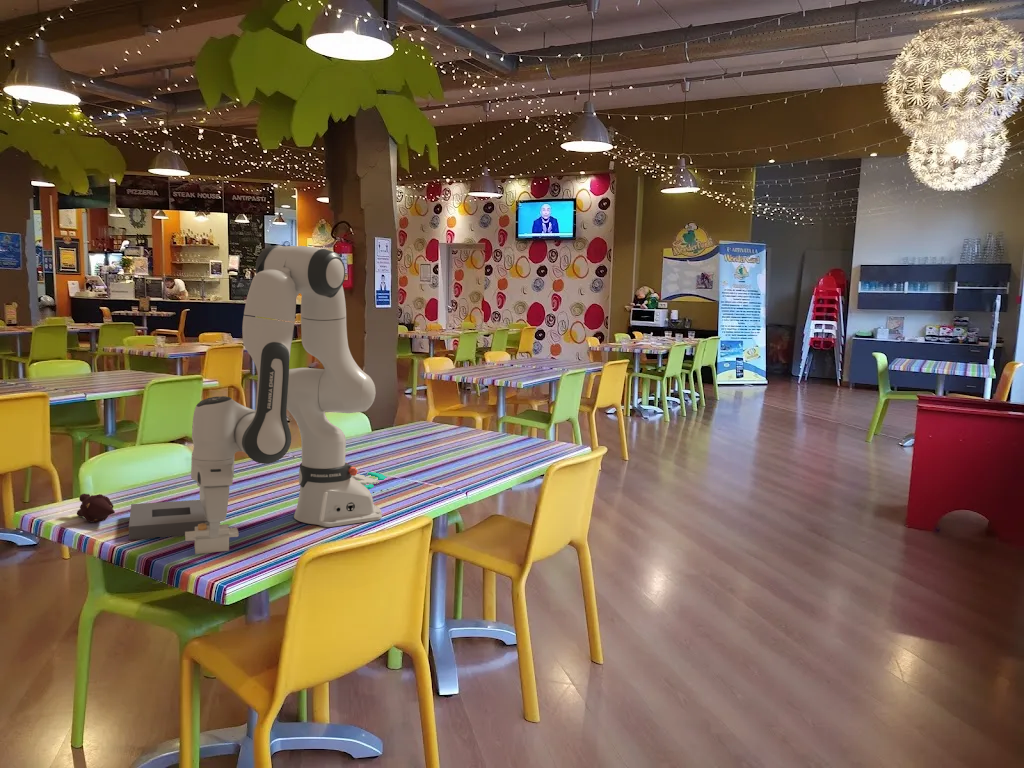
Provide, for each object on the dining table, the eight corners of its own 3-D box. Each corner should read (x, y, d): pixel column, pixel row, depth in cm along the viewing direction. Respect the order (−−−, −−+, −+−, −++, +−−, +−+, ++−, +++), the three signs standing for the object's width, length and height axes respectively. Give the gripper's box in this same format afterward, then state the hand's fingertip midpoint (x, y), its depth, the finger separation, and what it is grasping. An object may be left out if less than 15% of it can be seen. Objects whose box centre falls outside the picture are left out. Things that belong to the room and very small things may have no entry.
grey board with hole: (208, 511, 194) (208, 499, 194) (213, 533, 178) (213, 520, 178) (131, 516, 186) (131, 504, 186) (128, 540, 170) (128, 526, 170)
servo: (236, 544, 172) (236, 519, 171) (238, 550, 168) (238, 524, 168) (184, 548, 167) (184, 523, 166) (185, 555, 164) (185, 528, 163)
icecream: (131, 498, 181) (97, 491, 189) (101, 496, 174) (67, 490, 182) (126, 527, 180) (92, 519, 188) (95, 526, 174) (62, 518, 181)
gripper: (193, 460, 172) (192, 518, 174) (201, 481, 154) (200, 545, 156) (222, 459, 175) (221, 516, 176) (233, 479, 157) (232, 542, 158)
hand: (211, 530), depth 166 cm, fingers open, 8 cm apart
